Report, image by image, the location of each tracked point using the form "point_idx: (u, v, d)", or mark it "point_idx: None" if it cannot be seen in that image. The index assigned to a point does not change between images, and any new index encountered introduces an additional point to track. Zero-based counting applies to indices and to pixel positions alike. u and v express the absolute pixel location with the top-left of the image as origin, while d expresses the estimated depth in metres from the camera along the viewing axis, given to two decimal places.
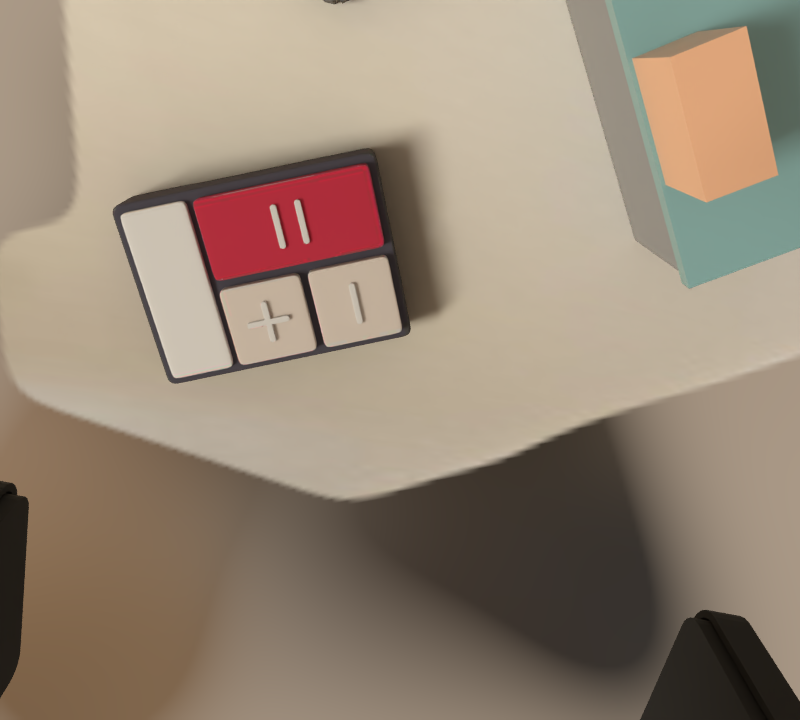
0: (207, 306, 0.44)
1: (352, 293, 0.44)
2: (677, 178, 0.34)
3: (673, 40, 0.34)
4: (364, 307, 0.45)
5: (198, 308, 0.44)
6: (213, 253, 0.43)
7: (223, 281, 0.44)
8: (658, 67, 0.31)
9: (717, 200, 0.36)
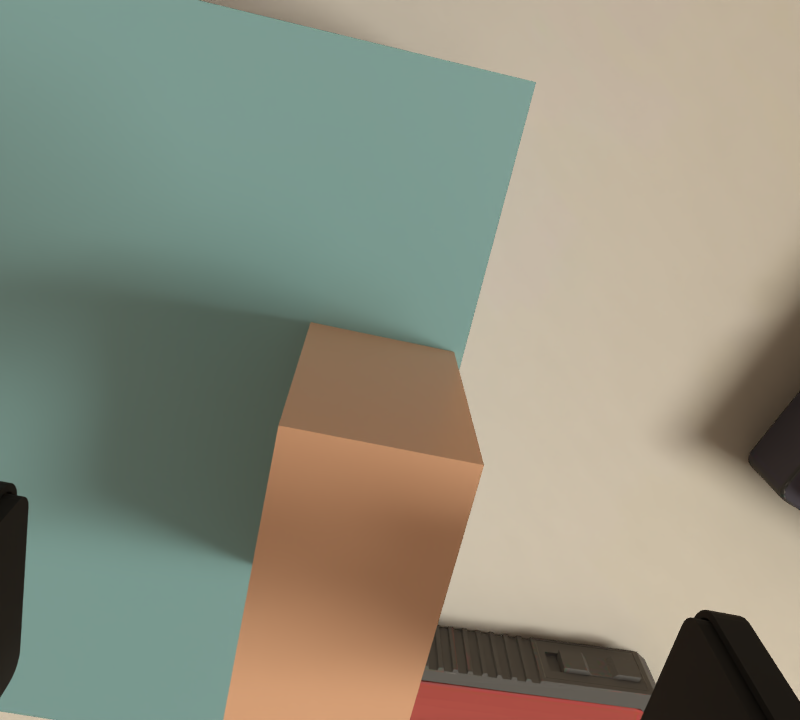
0: None
1: None
2: None
3: None
4: None
5: None
6: None
7: None
8: None
9: (370, 253, 0.15)
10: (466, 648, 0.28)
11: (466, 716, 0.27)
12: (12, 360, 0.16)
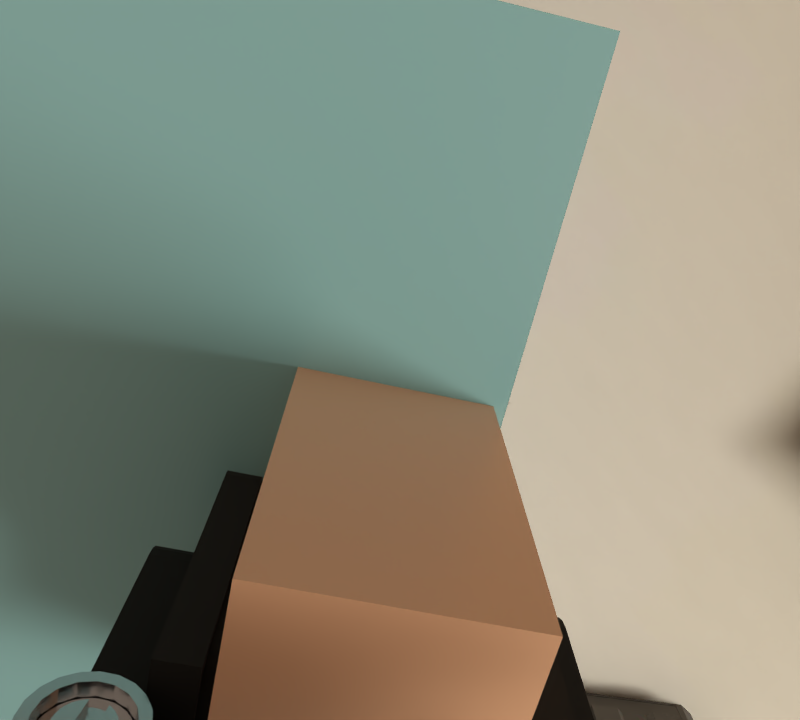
0: None
1: None
2: None
3: None
4: None
5: None
6: None
7: None
8: None
9: (379, 274, 0.11)
10: None
11: None
12: None
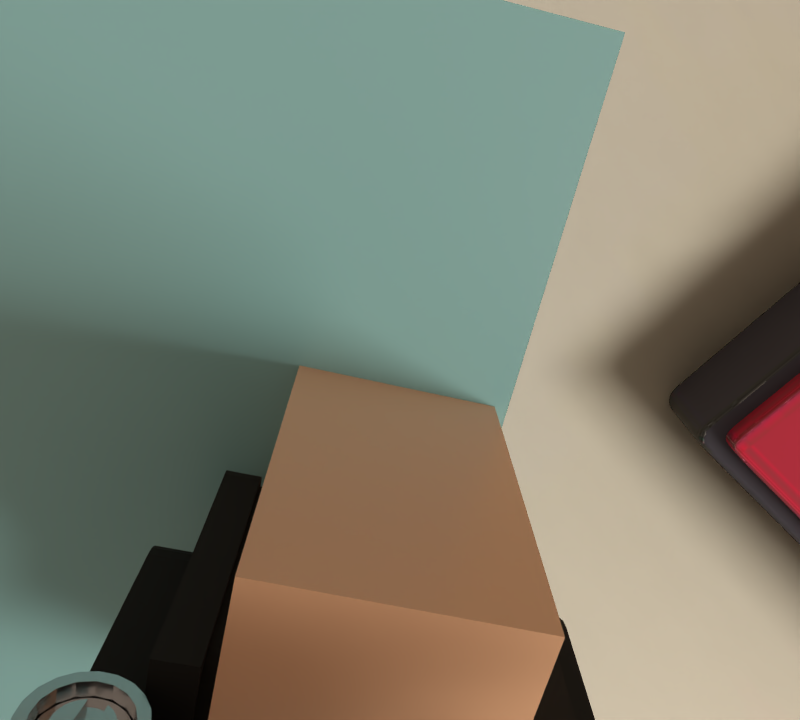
0: None
1: None
2: None
3: None
4: None
5: None
6: None
7: None
8: None
9: (382, 273, 0.11)
10: None
11: None
12: None
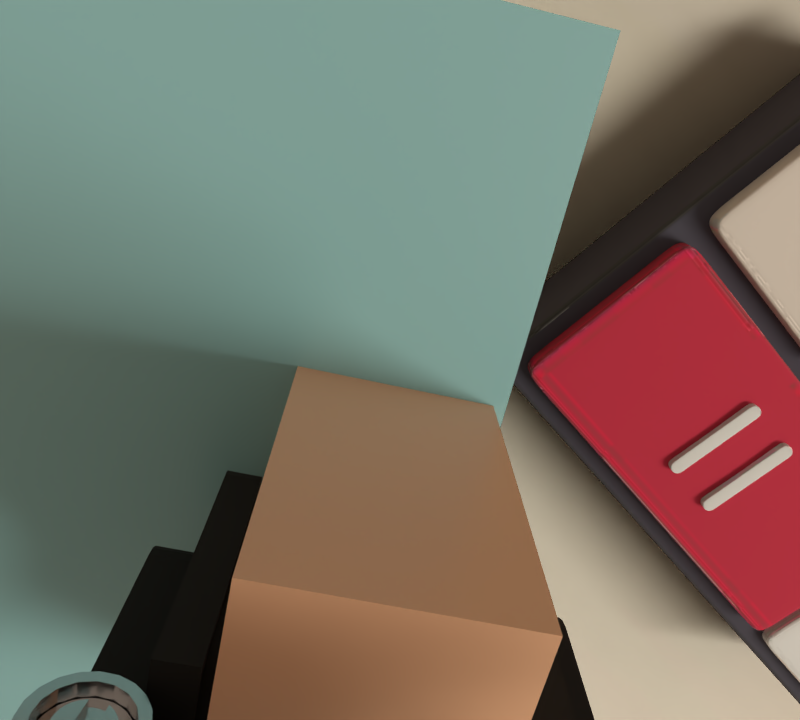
0: None
1: None
2: None
3: None
4: None
5: None
6: None
7: None
8: None
9: (379, 273, 0.11)
10: None
11: None
12: None
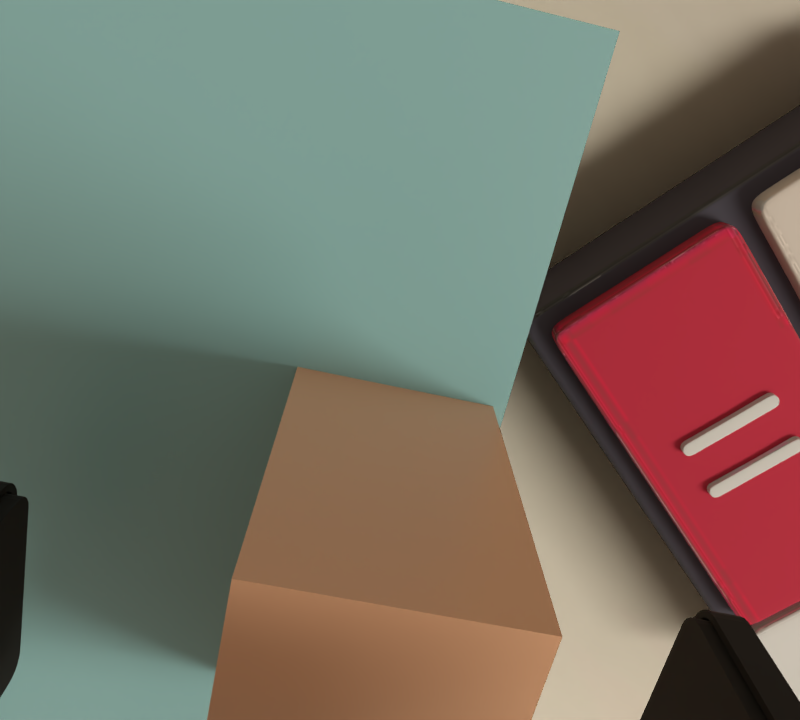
0: None
1: None
2: None
3: None
4: None
5: None
6: None
7: None
8: None
9: (379, 274, 0.11)
10: None
11: None
12: None
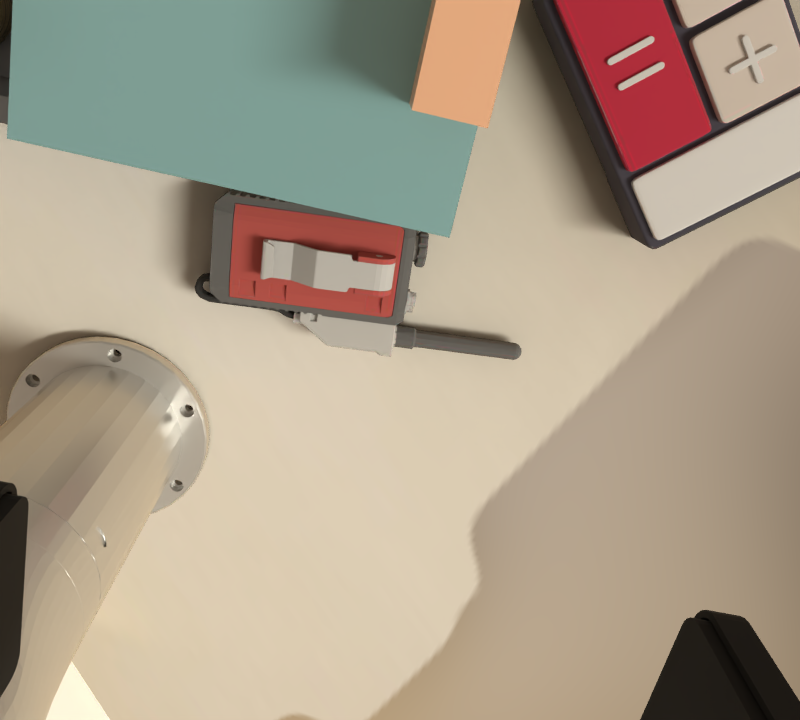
0: (742, 133, 0.40)
1: None
2: None
3: None
4: None
5: (746, 142, 0.40)
6: (682, 139, 0.40)
7: (710, 122, 0.40)
8: None
9: None
10: None
11: (285, 230, 0.42)
12: None
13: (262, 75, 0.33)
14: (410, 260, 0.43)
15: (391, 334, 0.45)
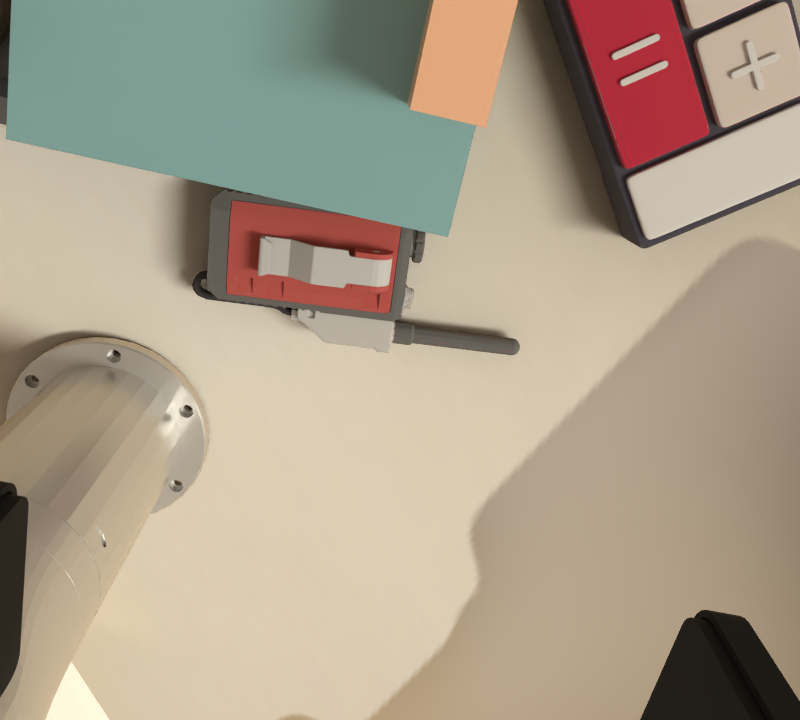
0: (739, 139, 0.40)
1: None
2: None
3: None
4: None
5: (742, 148, 0.40)
6: (679, 140, 0.40)
7: (709, 126, 0.40)
8: None
9: None
10: None
11: (282, 227, 0.42)
12: None
13: (261, 75, 0.33)
14: (407, 256, 0.43)
15: (389, 330, 0.45)
